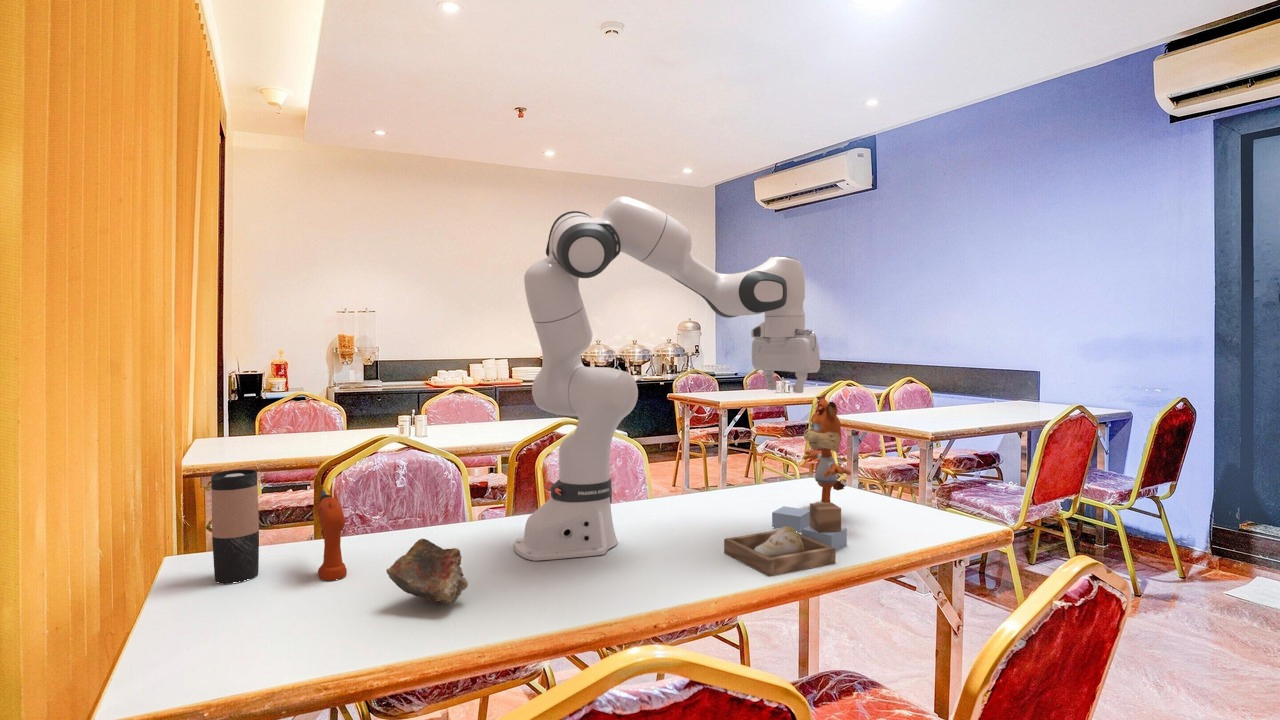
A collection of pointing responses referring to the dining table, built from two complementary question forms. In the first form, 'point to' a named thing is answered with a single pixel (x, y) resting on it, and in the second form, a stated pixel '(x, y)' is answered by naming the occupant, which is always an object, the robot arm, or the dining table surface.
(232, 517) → the travel mug
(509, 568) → the dining table surface
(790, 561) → the wooden tray
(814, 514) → the walnut block
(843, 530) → the base block
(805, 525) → the far block
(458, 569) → the rock
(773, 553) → the beige rounded lump
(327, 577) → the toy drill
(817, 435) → the toy
